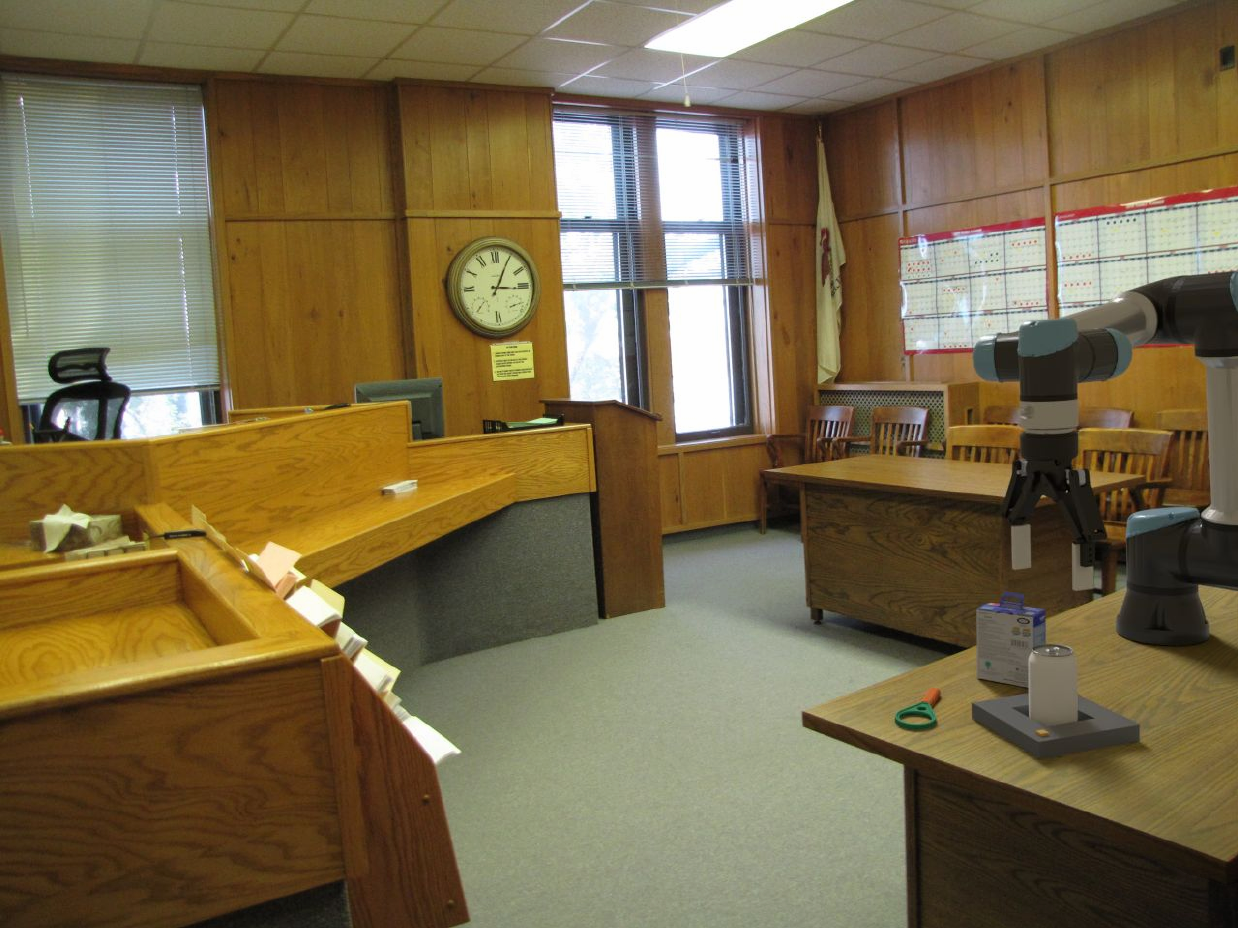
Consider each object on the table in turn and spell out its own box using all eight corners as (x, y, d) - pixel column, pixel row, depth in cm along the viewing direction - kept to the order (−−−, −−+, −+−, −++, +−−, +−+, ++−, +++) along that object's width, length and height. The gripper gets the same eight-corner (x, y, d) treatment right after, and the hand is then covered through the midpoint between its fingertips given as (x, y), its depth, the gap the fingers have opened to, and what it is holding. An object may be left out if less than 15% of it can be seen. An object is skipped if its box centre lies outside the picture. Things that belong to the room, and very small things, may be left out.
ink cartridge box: (1048, 680, 167) (1047, 594, 165) (1035, 690, 163) (1033, 602, 161) (989, 669, 174) (988, 587, 172) (975, 679, 170) (973, 594, 168)
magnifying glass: (930, 735, 149) (929, 724, 149) (889, 728, 153) (889, 718, 152) (954, 700, 162) (954, 690, 162) (916, 695, 165) (916, 685, 165)
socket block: (1064, 702, 157) (1064, 684, 157) (1139, 741, 142) (1139, 721, 141) (972, 718, 153) (971, 699, 153) (1038, 759, 138) (1038, 739, 138)
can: (1075, 722, 149) (1074, 643, 148) (1080, 739, 143) (1079, 657, 142) (1027, 719, 152) (1026, 642, 150) (1030, 736, 145) (1029, 655, 144)
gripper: (974, 426, 153) (977, 563, 156) (1085, 440, 129) (1087, 602, 132) (1017, 421, 155) (1020, 557, 158) (1136, 435, 131) (1136, 595, 133)
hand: (1050, 578), depth 145 cm, fingers open, 13 cm apart
